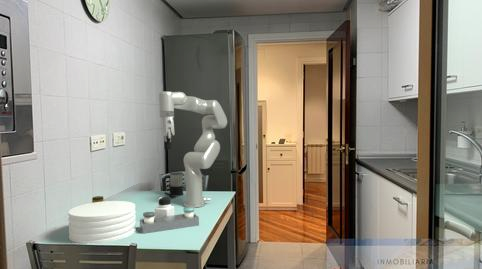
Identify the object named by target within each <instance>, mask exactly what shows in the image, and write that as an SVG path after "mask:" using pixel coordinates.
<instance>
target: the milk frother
mask: <svg viewBox="0 0 482 269" xmlns="http://www.w3.org/2000/svg"><path fill="white" fill-rule="evenodd" d="M183 176H184V172H182V171H177V172H169V174H166V175H165V176H163V178H162V190H163V192H164V195H166V196H167V197H169V198H170V199H171V198H176V196H183V195H184V190H183V189H184V185H183V184H184V182H183V180H184V179H183V178H184V177H183ZM167 179H169V192H166V191H167Z"/></svg>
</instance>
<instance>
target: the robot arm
mask: <svg viewBox="0 0 482 269" xmlns="http://www.w3.org/2000/svg"><path fill="white" fill-rule="evenodd" d="M158 95H159V96H158V99H159V102H158V104H159V108H158V109H159V118H160V119H161V126H160V127H161V136H163V140H164V142H163V145H164V146H163V147H164V150H171V149H172V137H174V136H175V123H174V122H175V121H174V118H175V109H177V110H183V111H190V112H193V113H197V114H201V115H204V116H203V118H202V120H201V127H202V134H201V135H200V137H199V139H198V140H197V141H196V143H195V145H194V146H193V151H189V152H187V153H186V154H185V155H184V157H183V166H184V169H185V172H184V173H185V198H186V199H185V201H186V202H184V203H183V207H184V208H186V207H194V209H195V208H202V207H204V206H206V202H211V197H204V196H203V174H202V172H201V170H207V169H209V168H211V167H212V165H213V164H214V162H215V160H216V158H217V157H218V155H219V153H220V151H221V145H220V142H219V141H218V140H216V135H215V133H214V130H215V129H217V130H218V129H225V128H226V127H227V125H228V119H227V116H226V113H225V111H224V110H223V108H222V105H221V104H220V102H218V100H216V99H209V100H206V99H203V98H199V97H196V96H192V95H191V96H189V95H186V94H185V93H184V92H182V91H160V92H159V93H158ZM213 129H214V130H213Z"/></svg>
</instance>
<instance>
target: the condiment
mask: <svg viewBox="0 0 482 269" xmlns="http://www.w3.org/2000/svg"><path fill="white" fill-rule="evenodd" d="M91 200H92V202H91V203H95V202H103V201H104V196H100V195H98V196H97V195H96V196H93V197H92V198H91Z"/></svg>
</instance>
